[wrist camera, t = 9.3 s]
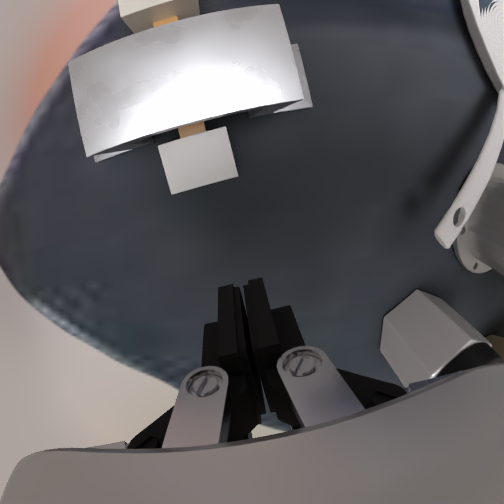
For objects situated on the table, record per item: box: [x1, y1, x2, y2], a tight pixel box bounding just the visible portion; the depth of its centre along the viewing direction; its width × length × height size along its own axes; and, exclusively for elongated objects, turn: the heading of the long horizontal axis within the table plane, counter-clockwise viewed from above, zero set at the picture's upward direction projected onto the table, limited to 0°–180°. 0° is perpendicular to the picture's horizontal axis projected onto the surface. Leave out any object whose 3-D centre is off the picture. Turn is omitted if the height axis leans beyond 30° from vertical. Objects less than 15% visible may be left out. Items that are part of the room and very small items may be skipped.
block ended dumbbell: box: [118, 0, 238, 194], centre depth 15 cm, size 4×16×6 cm, turn 13°
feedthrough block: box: [68, 4, 313, 163], centre depth 15 cm, size 16×5×9 cm, turn 102°
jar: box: [380, 290, 504, 388], centre depth 23 cm, size 9×8×12 cm
